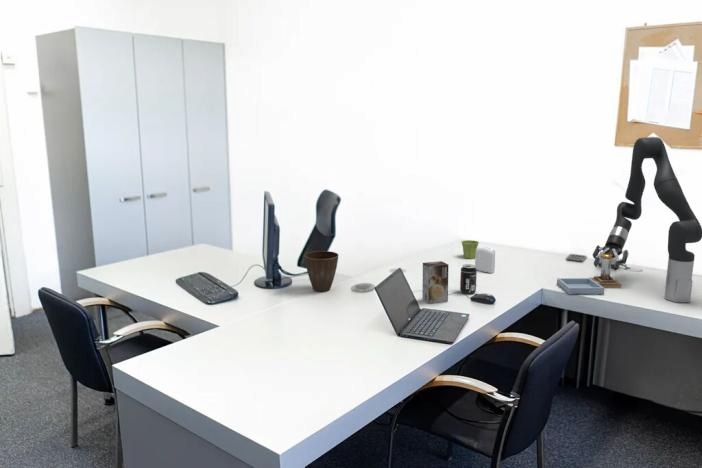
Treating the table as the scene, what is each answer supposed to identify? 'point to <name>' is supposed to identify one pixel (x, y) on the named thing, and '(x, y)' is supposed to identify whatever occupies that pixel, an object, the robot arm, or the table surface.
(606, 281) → the brown stepped base
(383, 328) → the table surface
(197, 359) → the table surface
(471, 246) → the plant pot
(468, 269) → the beverage can
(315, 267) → the plant pot
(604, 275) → the lock pin
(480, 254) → the photo printer
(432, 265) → the coffee box
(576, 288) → the tray
